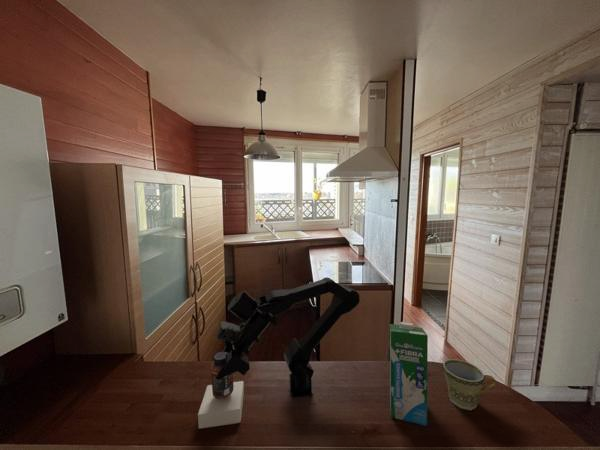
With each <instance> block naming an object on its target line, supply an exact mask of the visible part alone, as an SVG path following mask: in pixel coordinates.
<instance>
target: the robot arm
mask: <svg viewBox="0 0 600 450" xmlns="http://www.w3.org/2000/svg"><path fill="white" fill-rule="evenodd" d="M328 293H331V294H332V298H331V302H330V305H329V306H328V307H327V308H326V310H324V312H323V313H322V315H320V317H319V318H318V319H317V320H316V321H315V322H314V324H313V325H312V326H311V327H310V328H309V329H308V331H306V333H305V334H304V335H303V337H301V338H299V339H296V338H295V337H294V338H292V339H291V340H290V342H289V343H288V344H287V345H286V346H285V350H284V352H283V357H284V360H285V362H286V365H287V368H288V371H290V373H289V374H288V377H289V390H290V392H291V394H292V397H293V398H296V397H305V396H311V395H313V394H314V392H313V387H312V386H313V385H312V378H313V376H314V372H315V370H314V369H313V366H312V365H311V363H310V361H311V358H312V355H313V351H314V349H315V348H316V347H317V346H318V344H319V343H320V342H321V341H322V340H323V339H324V337H326V335H327V334H328V333H329V331H330V330H331V329H332V327H333V326H334V325H335V324H336V323H337V322H338V320H339V319H340V318H341V317H342V316H344V315H346V314H348V313H350V312H352V310H354V309H355V308H356V307H357V306H358V305H359V303H360V302H361V299H360V298H361V296H360V294H359V292H357V291H356V290H355V289H353V288H351V287H350V286H348V285H344V284H343V285H340V284H338V283H337V282H336V281H334V280H333V279H331V278H330V277H324V278H322V279H319V280H317V281H313V282H310V283H307V284H303V285H300V286H298V287H295V288H291V289H283V288H282V289H274V290H270V291H268V292H267V293H266V294H265V295H260V296H258V297H252V296H251V295H250V294H249V293H248V292H247V291H246V290H242V291H241V292H239V293H238V294H236V295H235V296H234V297H233V298H232V299H231V300H230V302H229V303H228V305H227V310H228V311H229V312H230V313H232V314H234V315H235V316H236V317H238V318H239V319H240V320H241V321H243V322H241V323H240V324H239V325H237V324H235V323H231V322H228V321H221V322H220V324H219V327H218V328H217V331H216V333H217V335H216V338H217V339H219V340H223V341H225V342H224V343H225V345H224V348H223V350H222V352H227V353H228V355H227V354H226V362H225V363H224V365H223V366H222V368H221V369H220V371H219V372H218V374H217V376H216V379H217V380H220V379H222V378H224V377H226V376H228V375H230V374H232V373H233V374H235V373H239V374H241V375H243V376H246V374H247V373H248V372H249V371H250V367H251V366H250V359H249V357H248V356H247V355H249V354H250V351H251V350H250V349H251V348H252V346H253V344H254V343H255V342H256V343H258V342H260V336H261V334H262V333H263V332H265V330H266V328H267V327H269V325H270V324H272V325H273V326H274V327H277V326H278V322H277V319H278V316H279V315H282V314H283V313H286V312H287V311H290V310H291V308H292V307H293V306H294V305H296V304H299V303H302V302H306V301H307V300H311V299H313V298H317V297H319V296H322V295H325V294H328ZM244 321H246V322H244ZM244 353H246V354H247V355H245V354H244Z"/></svg>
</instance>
